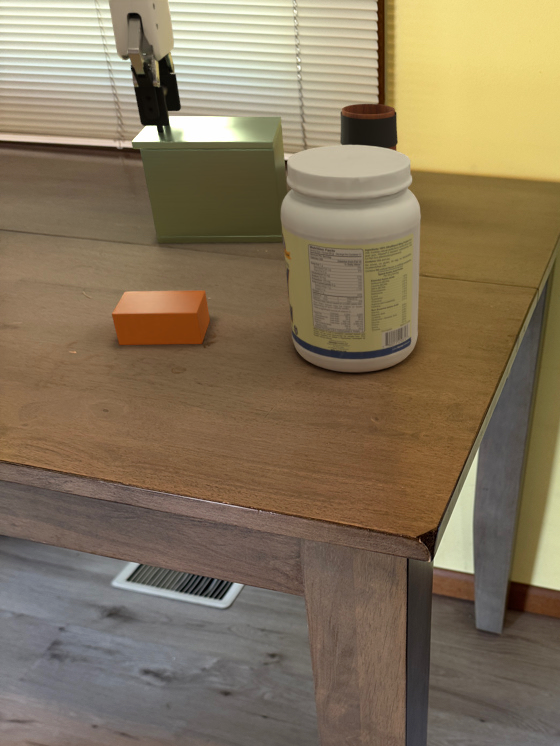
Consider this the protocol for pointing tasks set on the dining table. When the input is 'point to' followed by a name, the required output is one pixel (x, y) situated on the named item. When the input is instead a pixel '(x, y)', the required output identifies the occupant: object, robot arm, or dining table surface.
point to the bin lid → (210, 133)
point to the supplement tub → (352, 256)
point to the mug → (369, 125)
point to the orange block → (161, 317)
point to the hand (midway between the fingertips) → (162, 116)
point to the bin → (216, 193)
